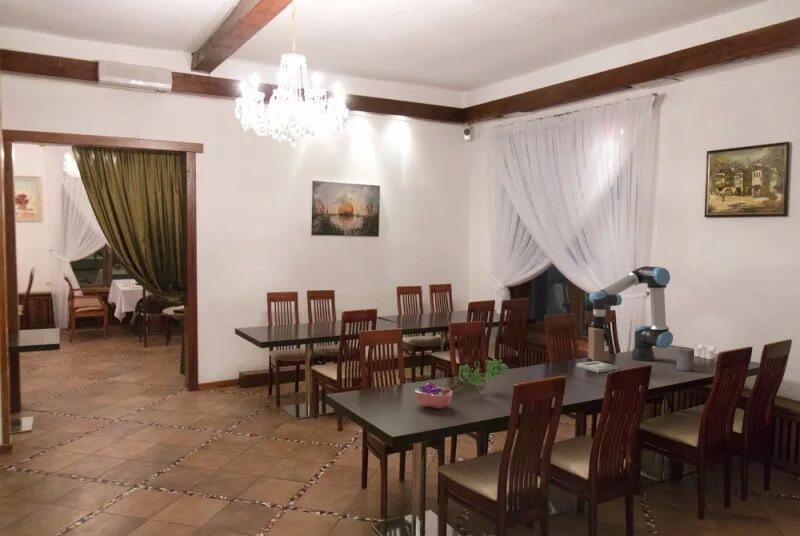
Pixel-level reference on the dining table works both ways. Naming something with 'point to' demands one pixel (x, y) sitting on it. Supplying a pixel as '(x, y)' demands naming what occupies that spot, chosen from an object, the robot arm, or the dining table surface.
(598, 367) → the square tray
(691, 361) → the pillar candle
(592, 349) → the wooden block
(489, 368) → the plant cuttings
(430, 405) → the cell model
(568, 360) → the dining table surface
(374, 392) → the dining table surface
